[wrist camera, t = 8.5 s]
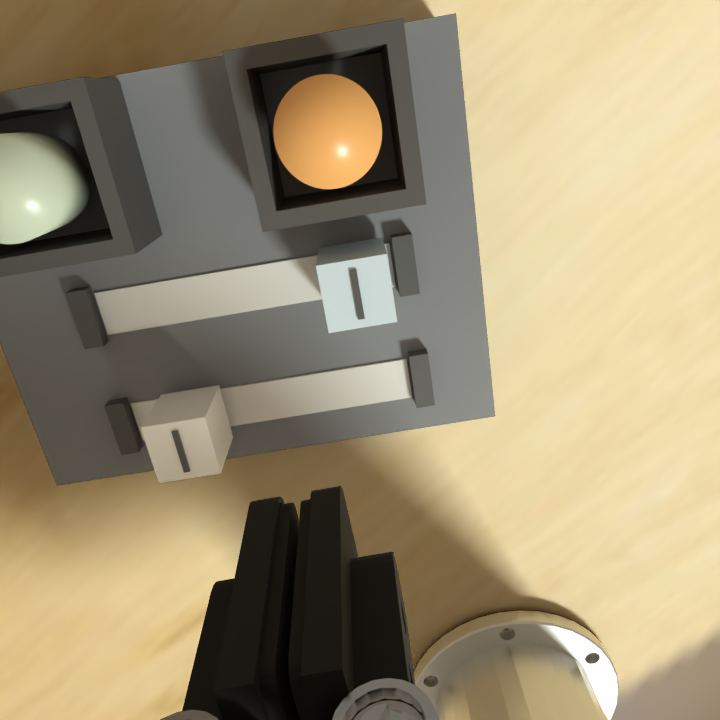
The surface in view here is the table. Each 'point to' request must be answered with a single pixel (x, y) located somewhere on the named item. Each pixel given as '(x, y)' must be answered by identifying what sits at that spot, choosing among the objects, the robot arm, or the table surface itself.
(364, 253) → the slider blue
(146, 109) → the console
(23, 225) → the button green
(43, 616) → the table surface
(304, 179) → the button orange
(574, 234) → the table surface
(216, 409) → the slider white
